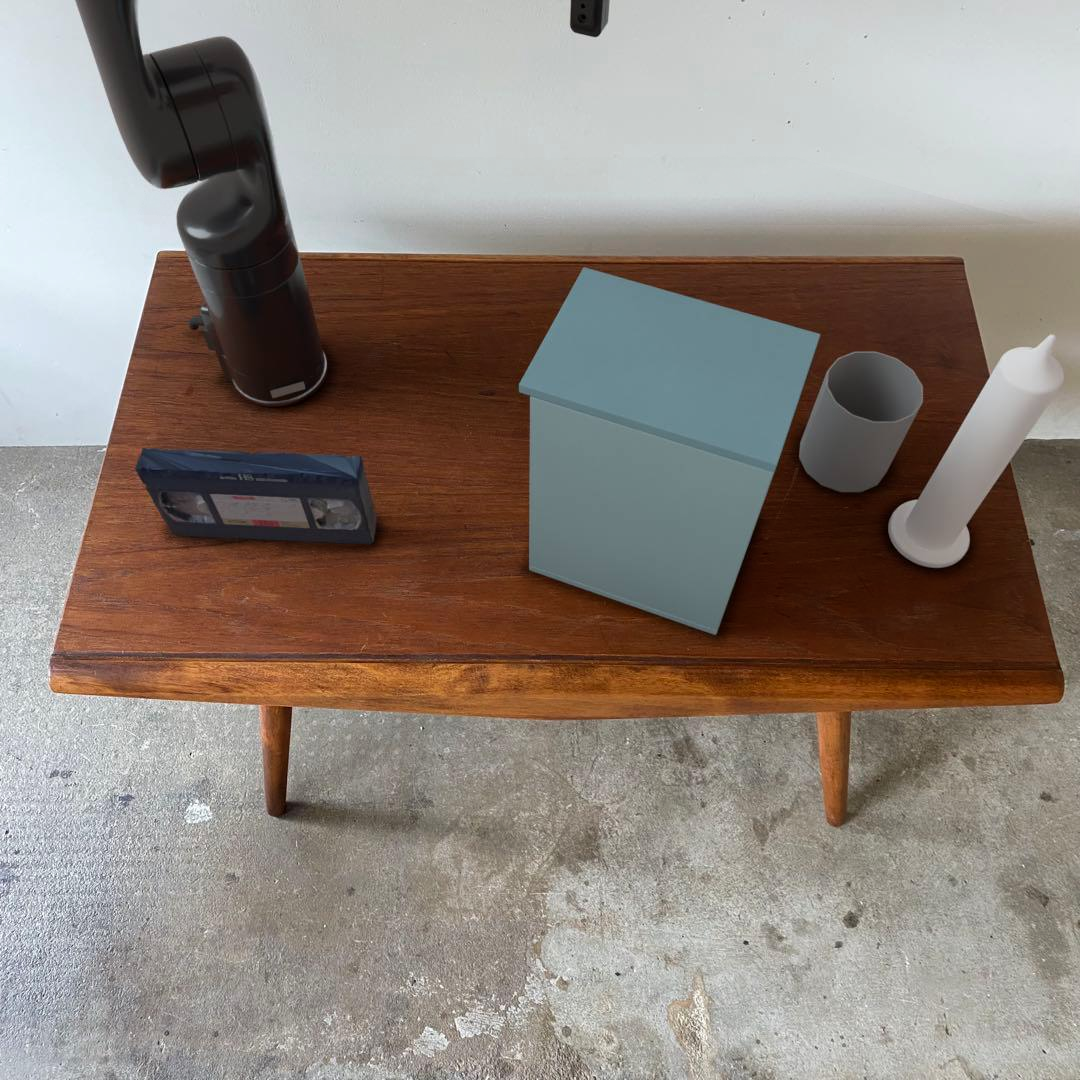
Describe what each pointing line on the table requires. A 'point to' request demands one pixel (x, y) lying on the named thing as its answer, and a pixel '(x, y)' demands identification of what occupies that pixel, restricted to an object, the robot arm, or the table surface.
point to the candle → (977, 456)
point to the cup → (859, 420)
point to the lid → (674, 367)
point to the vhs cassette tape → (260, 495)
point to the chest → (638, 514)
